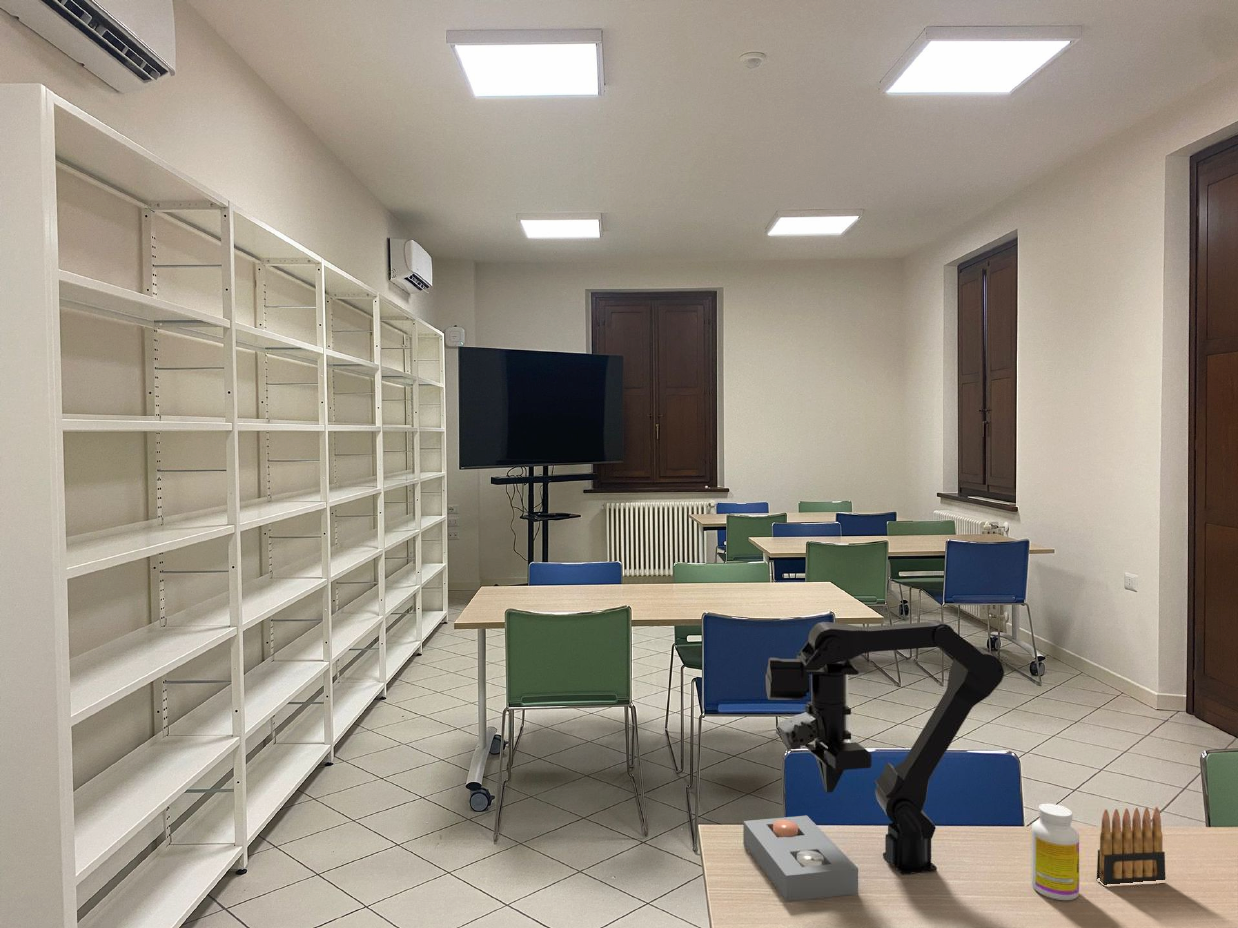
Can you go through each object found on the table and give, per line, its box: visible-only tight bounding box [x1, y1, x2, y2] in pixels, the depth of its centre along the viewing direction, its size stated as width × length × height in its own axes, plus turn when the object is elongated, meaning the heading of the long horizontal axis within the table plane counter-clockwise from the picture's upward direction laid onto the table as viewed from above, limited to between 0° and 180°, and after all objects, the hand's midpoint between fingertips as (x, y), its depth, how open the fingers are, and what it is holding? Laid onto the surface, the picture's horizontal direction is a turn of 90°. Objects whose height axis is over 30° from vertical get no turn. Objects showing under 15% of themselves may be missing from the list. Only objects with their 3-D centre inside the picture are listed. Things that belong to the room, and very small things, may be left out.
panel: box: [742, 815, 859, 903], centre depth 134 cm, size 12×19×4 cm, turn 11°
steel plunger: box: [797, 850, 824, 867], centre depth 129 cm, size 4×4×3 cm
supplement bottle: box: [1030, 803, 1080, 901], centre depth 126 cm, size 7×7×13 cm
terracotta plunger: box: [773, 820, 798, 838], centre depth 138 cm, size 4×4×3 cm
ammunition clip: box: [1096, 806, 1167, 885], centre depth 129 cm, size 11×2×12 cm, turn 96°
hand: (829, 791), depth 135 cm, fingers closed
